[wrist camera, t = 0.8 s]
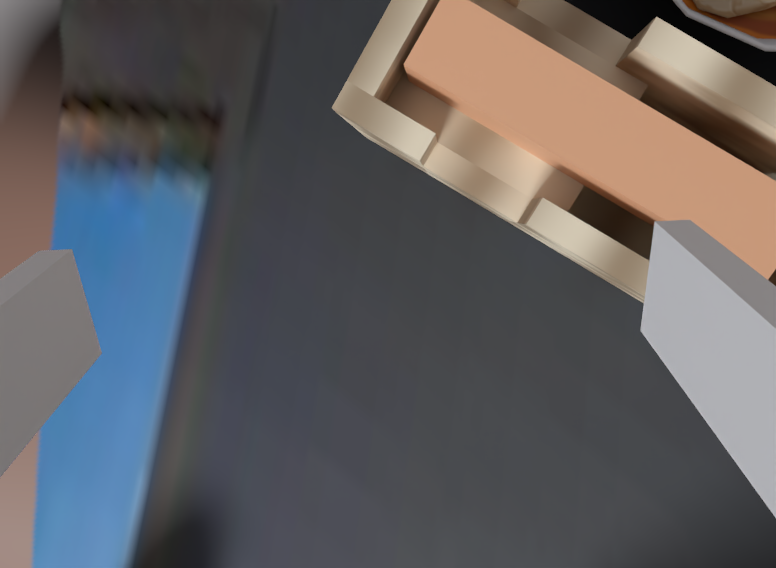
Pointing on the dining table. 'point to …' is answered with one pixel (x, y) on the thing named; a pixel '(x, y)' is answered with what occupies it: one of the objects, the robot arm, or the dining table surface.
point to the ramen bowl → (737, 19)
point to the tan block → (593, 130)
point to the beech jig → (532, 175)
